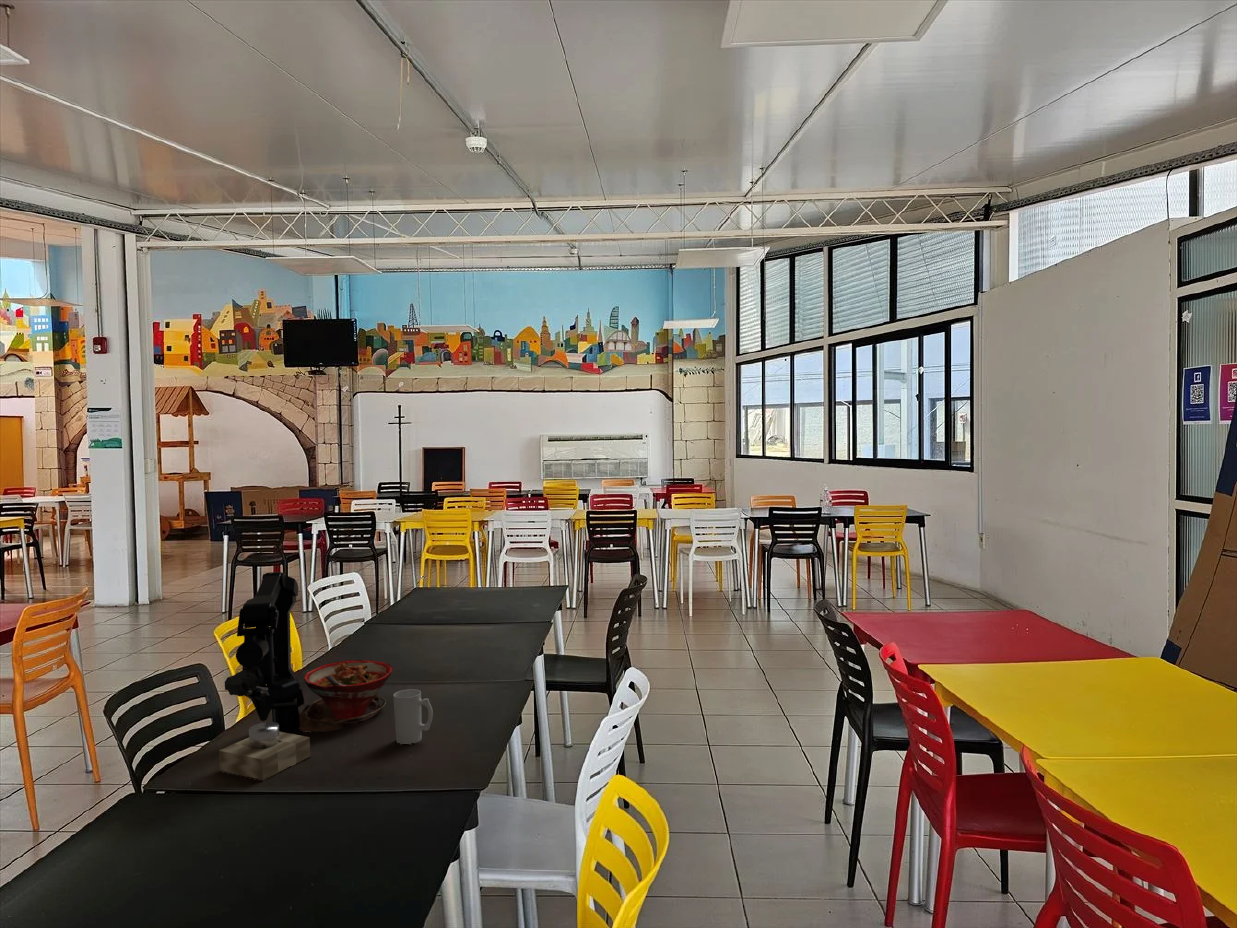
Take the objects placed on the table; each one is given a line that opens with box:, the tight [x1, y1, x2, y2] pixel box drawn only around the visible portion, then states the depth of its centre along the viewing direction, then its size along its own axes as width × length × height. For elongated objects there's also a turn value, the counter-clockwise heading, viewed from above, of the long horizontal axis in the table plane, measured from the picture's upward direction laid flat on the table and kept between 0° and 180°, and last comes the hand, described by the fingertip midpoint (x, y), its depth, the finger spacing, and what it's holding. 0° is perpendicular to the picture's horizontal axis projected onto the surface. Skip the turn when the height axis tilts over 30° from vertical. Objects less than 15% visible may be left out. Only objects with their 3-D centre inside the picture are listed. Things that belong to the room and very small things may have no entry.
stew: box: [297, 659, 394, 733], centre depth 226 cm, size 28×24×16 cm
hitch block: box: [218, 732, 311, 780], centre depth 194 cm, size 14×14×5 cm
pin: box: [248, 721, 280, 750], centre depth 194 cm, size 7×7×9 cm
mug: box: [393, 688, 434, 745], centre depth 207 cm, size 10×7×12 cm, turn 78°
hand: (263, 720), depth 194 cm, fingers closed
